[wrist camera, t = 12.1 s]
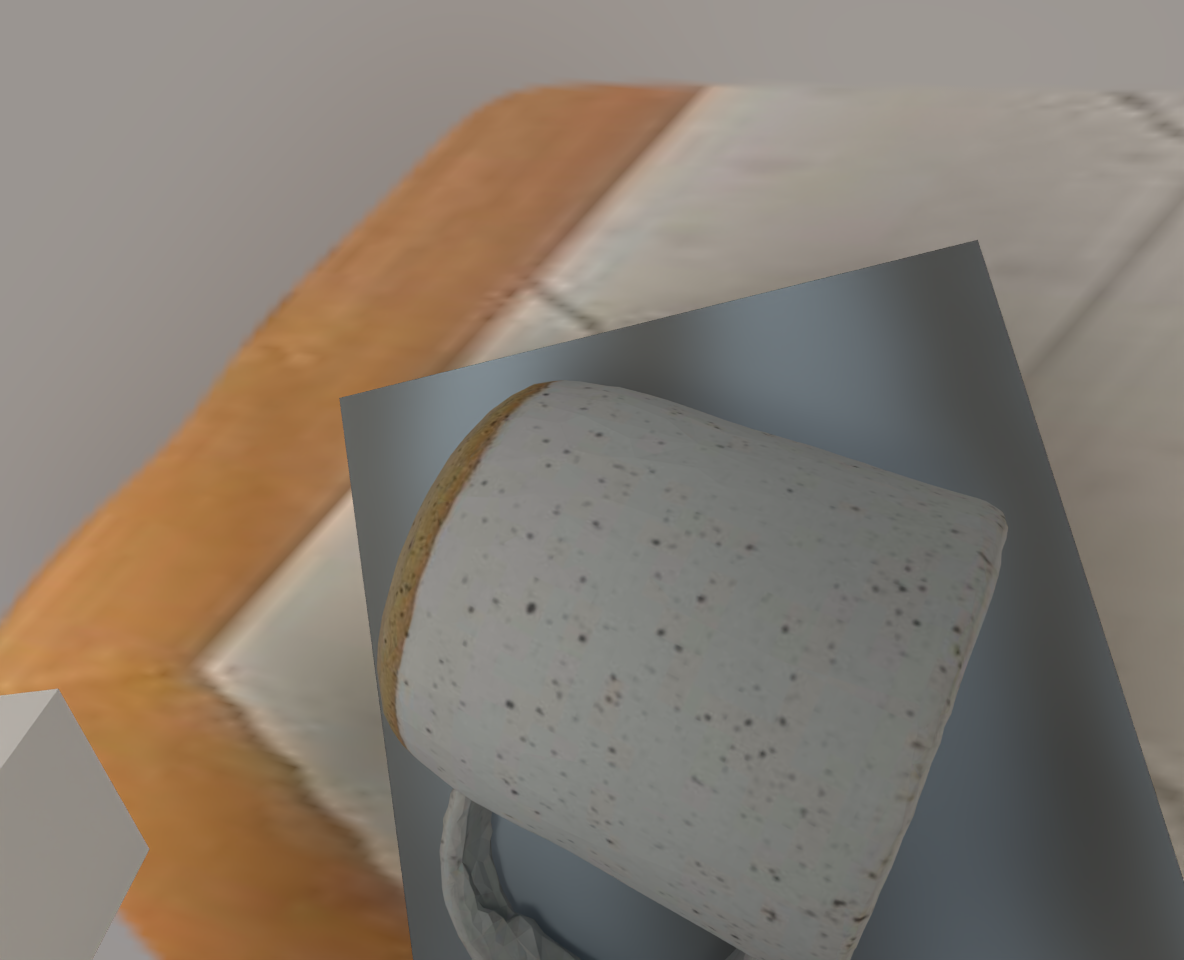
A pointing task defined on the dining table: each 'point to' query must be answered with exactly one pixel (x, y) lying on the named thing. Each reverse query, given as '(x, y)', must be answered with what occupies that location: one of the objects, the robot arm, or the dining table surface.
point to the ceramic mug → (680, 662)
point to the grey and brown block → (991, 679)
